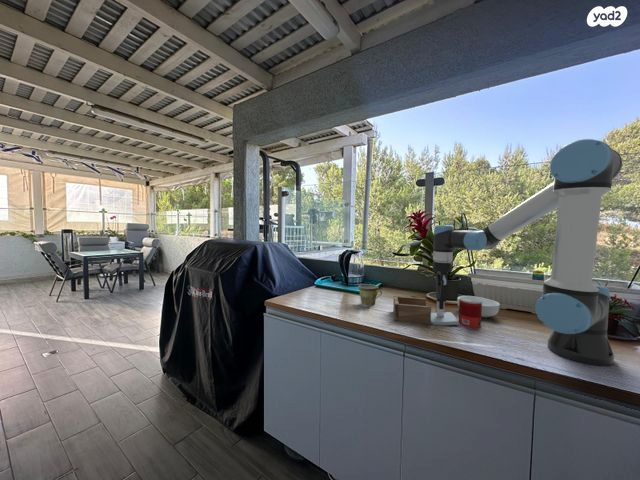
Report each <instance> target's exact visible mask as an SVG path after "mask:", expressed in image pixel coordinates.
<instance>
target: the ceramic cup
mask: <svg viewBox="0 0 640 480" xmlns="http://www.w3.org/2000/svg"><path fill="white" fill-rule="evenodd" d="M358 291H359V296H360V304H361V306H362V307H364V308H371V307H373V306H375V305H376V300H377V299H378V298H379V297H381V296H382V294H383V292H382V290H381V289H379V286H378V285H375V284H371V283H369V284H368V283H360V284H359V285H358ZM378 292H379V293H380V294H379V295H378Z"/></svg>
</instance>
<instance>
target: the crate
mask: <svg viewBox="0 0 640 480" xmlns="http://www.w3.org/2000/svg"><path fill="white" fill-rule="evenodd" d="M392 309H393V310H392V311H393V318H394V322H396V323H406V324H414V325H415V324H417V325H427V326H428V325H429V326H434V324H433V323H431V313H432V307H431V306H428V305H427V299H426V298H425V297H412V296H400V295H398V296H397V295H393V308H392Z"/></svg>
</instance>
